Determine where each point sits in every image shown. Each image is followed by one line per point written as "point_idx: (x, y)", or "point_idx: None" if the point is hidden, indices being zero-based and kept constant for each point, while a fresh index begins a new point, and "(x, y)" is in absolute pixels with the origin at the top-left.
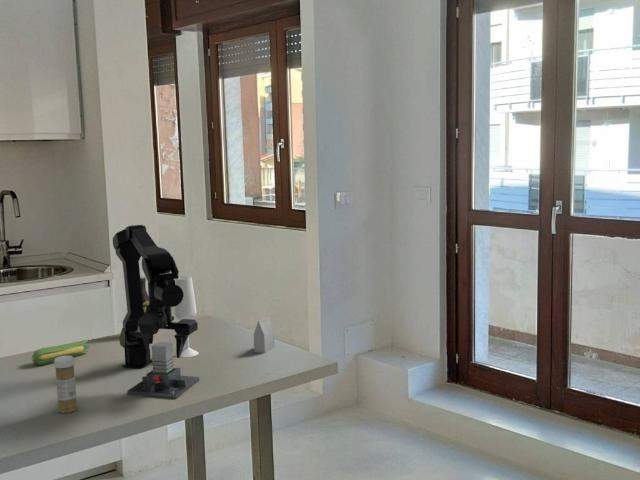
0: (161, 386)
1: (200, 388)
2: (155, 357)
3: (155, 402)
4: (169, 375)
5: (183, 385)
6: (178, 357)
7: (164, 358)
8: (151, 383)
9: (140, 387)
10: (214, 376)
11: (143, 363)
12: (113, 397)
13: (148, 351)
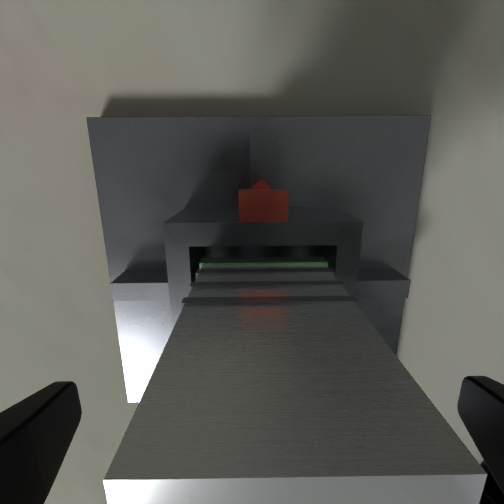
0: (237, 209)
1: (65, 296)
2: (325, 324)
3: (186, 27)
4: (167, 236)
5: (132, 271)
6: (49, 386)
7: (196, 322)
8: (308, 211)
9: (371, 190)
10: (97, 445)
11: (492, 498)
12: (487, 51)
13: (489, 447)
